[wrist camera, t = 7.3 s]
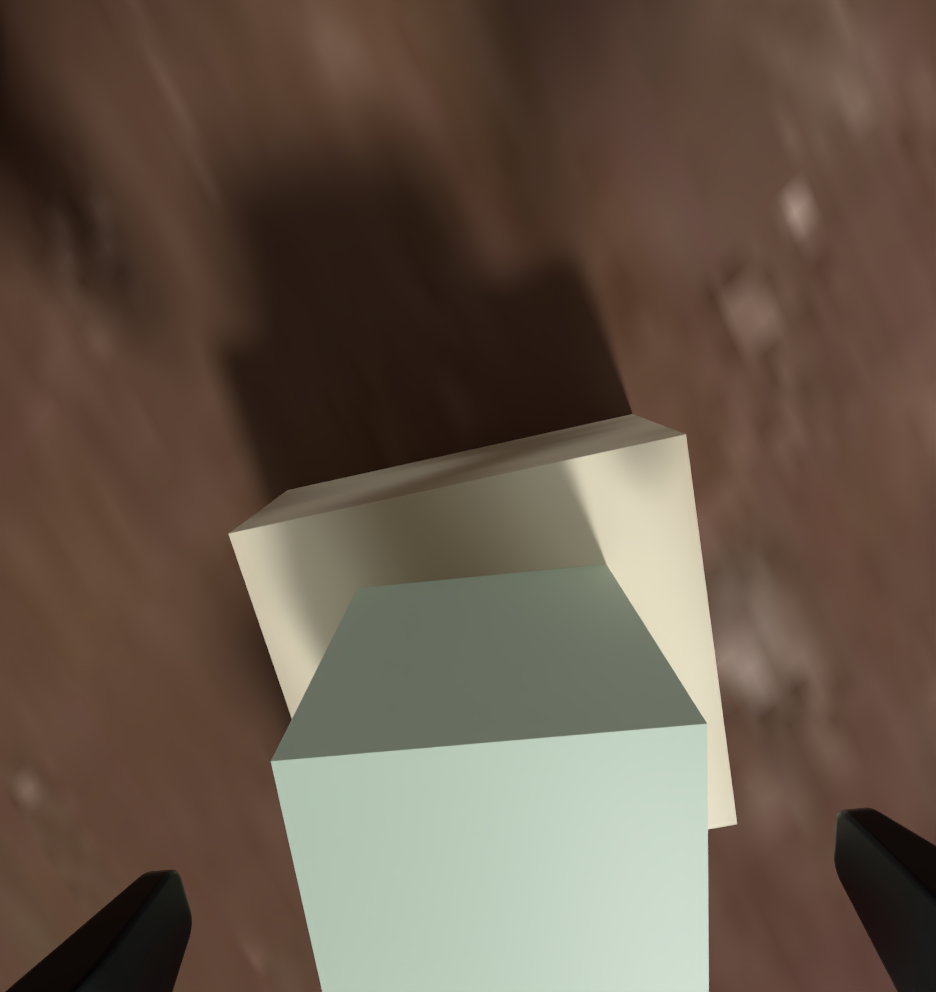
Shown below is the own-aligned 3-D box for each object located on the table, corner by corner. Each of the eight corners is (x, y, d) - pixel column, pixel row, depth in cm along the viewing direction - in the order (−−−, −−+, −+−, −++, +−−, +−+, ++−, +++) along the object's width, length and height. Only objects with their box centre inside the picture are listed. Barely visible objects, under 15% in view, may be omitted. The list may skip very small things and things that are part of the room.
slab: (628, 412, 14) (685, 434, 11) (675, 714, 17) (736, 823, 13) (291, 486, 15) (228, 534, 11) (378, 769, 17) (351, 891, 13)
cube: (606, 563, 11) (707, 723, 6) (617, 777, 12) (708, 1047, 8) (357, 587, 11) (271, 761, 7) (391, 796, 13) (340, 1072, 8)
